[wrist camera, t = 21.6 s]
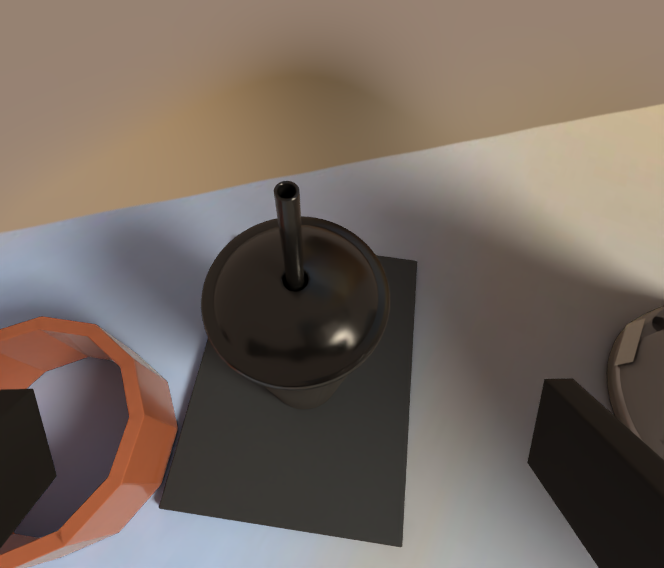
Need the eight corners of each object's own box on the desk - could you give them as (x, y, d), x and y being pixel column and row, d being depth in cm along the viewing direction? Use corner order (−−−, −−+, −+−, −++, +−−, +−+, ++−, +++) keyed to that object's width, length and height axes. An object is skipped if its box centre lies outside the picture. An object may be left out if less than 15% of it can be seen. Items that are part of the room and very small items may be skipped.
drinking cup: (299, 304, 31) (278, 57, 13) (379, 367, 29) (485, 179, 11) (227, 381, 28) (72, 202, 10) (310, 456, 26) (300, 400, 8)
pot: (197, 362, 29) (171, 335, 24) (136, 570, 24) (83, 596, 18) (30, 336, 30) (-34, 304, 24) (-70, 536, 24) (-181, 552, 19)
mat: (415, 264, 33) (417, 260, 33) (400, 546, 25) (402, 547, 24) (238, 239, 34) (237, 235, 33) (161, 507, 25) (158, 508, 25)
